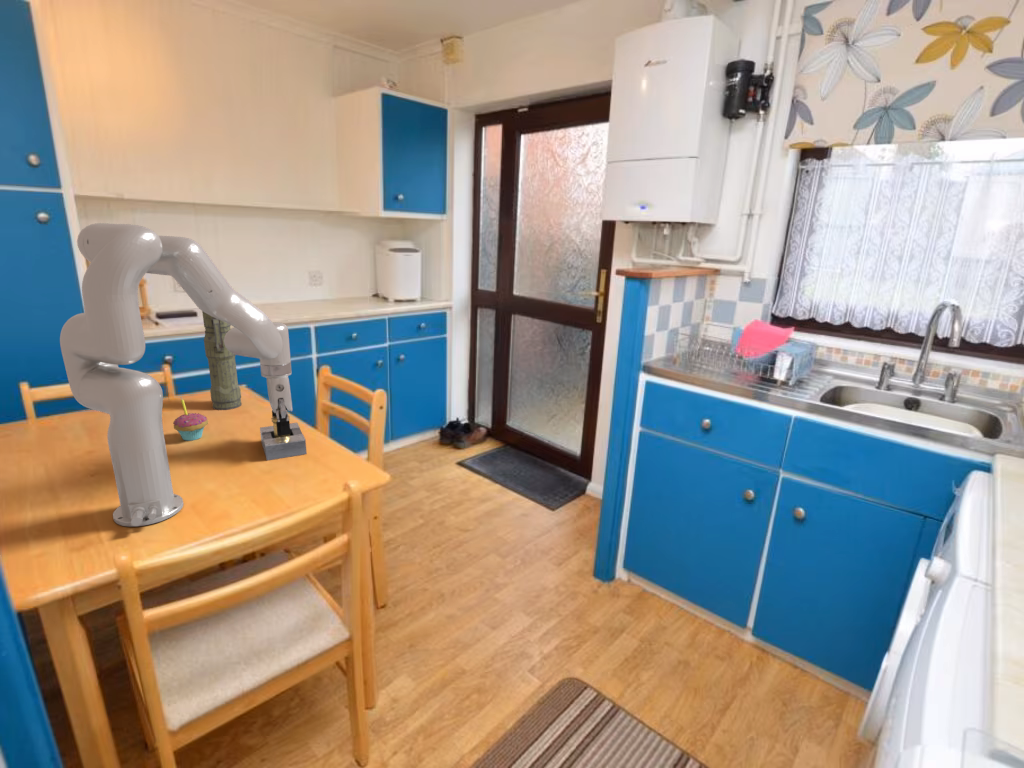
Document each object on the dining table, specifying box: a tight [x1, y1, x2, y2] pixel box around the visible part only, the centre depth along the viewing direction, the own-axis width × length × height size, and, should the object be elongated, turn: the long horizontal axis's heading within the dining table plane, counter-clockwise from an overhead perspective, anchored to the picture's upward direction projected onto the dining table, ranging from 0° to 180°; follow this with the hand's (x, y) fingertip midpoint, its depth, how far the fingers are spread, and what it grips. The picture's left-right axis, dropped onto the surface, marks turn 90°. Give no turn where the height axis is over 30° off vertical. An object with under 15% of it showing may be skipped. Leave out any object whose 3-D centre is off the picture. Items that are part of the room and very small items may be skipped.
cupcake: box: [172, 397, 209, 442], centre depth 152 cm, size 9×8×12 cm
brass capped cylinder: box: [270, 415, 291, 438], centre depth 148 cm, size 5×5×9 cm
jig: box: [259, 422, 308, 461], centre depth 149 cm, size 14×10×4 cm
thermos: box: [201, 310, 243, 411], centre depth 175 cm, size 9×12×35 cm
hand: (281, 428), depth 148 cm, fingers open, 9 cm apart
